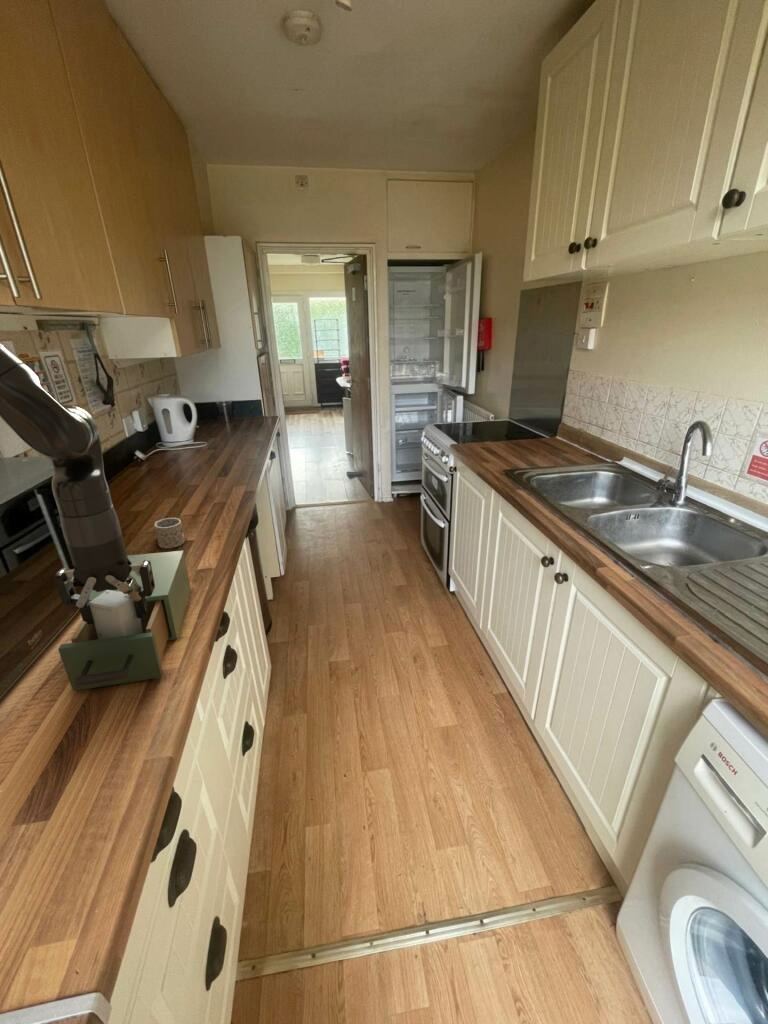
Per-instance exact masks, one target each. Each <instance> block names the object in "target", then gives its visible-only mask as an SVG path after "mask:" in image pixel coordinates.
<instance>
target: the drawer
mask: <svg viewBox="0 0 768 1024" xmlns="http://www.w3.org/2000/svg"><path fill="white" fill-rule="evenodd" d="M146 602H147V606H148V608H147V611H146V613H145V614H144V616H143V618H140V620H141V625H142V629H143V634H136V635H128V636H121V637H113V638H106V639H98V635H97V631H96V628H95V624H89V625H88V624H87V622H84V621H83V619H81V622H80V623H79V625H78V627H77V628H76V630H75V632H74V633H73V634H72V637H71V638H70V640H71V642H68V643H62V644H60V646H59V647H58V649H57V650H58V654H59V656H60V659H61V661H62V664H63V667H64V670H65V673H66V676H67V679H68V681H69V684H70V687H71V689H72V691H73V692H75V691H81V690H89V689H94V688H102V687H108V686H114V685H115V686H116V685H120V684H126V683H133V682H139V681H146V680H147V681H148V680H151V679H152V680H153V679H159V678H162V677H163V674H164V671H163V666H162V663H161V662H162V659H163V655H164V653H165V649H166V646H167V642H168V640H167V639H168V636H169V633H170V627H169V622H168V618H167V613H166V609H165V604H164V600H163V599H162V600H153V601H146Z"/></svg>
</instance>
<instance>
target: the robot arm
mask: <svg viewBox="0 0 768 1024" xmlns="http://www.w3.org/2000/svg"><path fill="white" fill-rule="evenodd" d="M0 418H1V419H2V421H3V422H4V423H5V424H6V425H7V426H8V427H9V428H10V430H12V431H13V432H14V433H15V434H16V436H18V437H19V438H20V439H21V440H22V441H23V442H24V443H25V444H26V445H27V446H29V447H30V448H31V449H32V450H33V451H35V452H37V453H38V454H39V455H41V456H43V457H46V459H47V458H48V459H49V460H51V464H52V469H53V476H52V479H51V490H52V494H53V497H54V501H55V504H56V507H57V510H58V514H59V519H60V526H61V531H62V536H63V539H64V541H65V545H66V547H67V550H68V553H69V557H70V560H71V563H72V566H73V567H74V568H72V569H68V568H66V567H61V568H60V569H59V570H58V571H57V572H56V573H55V575H54V576H53V579H52V580H53V582H54V584H55V587H56V591H57V592H58V595H59V598H60V600H61V603H62V605H63V606H65V607H70V606H76V607H77V608H78V609H79V612H80V616H81V620H83V621H84V622H87V624H88V625H89V624H94V620H93V616H92V612H91V608H90V605H89V602H91V601H92V600H89V597H90V595H91V593H92V591H93V590H95V591H96V592H101V591H104V590H117V589H119V590H120V591H121V592H122V593H124V594H128V595H129V596H130V597H131V598H133V599H134V606H135V610H136V614H137V618H143V616H144V614H145V613H146V611H147V608H148V606H147V602H146V598H145V597H146V596H147V597H150V596H151V595H152V593H153V591H154V588H155V583H154V577H153V572H152V567H151V562H150V561H149V560H144V561H143V563H133V564H132V562H130V561H129V559H128V557H127V556H128V553H127V549H126V544H125V541H124V536H123V532H122V527H121V524H120V520H119V516H118V514H117V512H116V509H115V507H114V504H113V499H112V496H111V491H110V488H109V484H108V481H107V478H106V475H105V468H104V457H103V447H102V442H101V435H100V432H99V429H98V425H97V423H96V421H95V419H94V418H93V417H92V415H91V414H90V413H89V412H88V411H86V410H85V409H83V408H81V407H79V406H77V405H73V404H60V403H59V402H58V401H57V400H56V399H55V398H54V397H52V395H50V393H48V392H47V391H46V390H45V389H44V388H43V387H42V385H41V380H40V378H39V376H38V375H37V374H36V373H35V372H34V371H33V370H32V369H31V368H30V367H29V366H28V365H27V364H26V363H25V362H23V361H22V360H21V359H20V358H18V356H17V355H16V354H14V353H13V352H12V351H11V350H9V349H8V348H7V347H6V346H5V345H4V344H2V343H1V342H0ZM131 571H135V572H136V574H137V575H138V576H141V581H142V586H143V587H141V586H140V585H139V584H138V583H137V582H136V579H135V578H133V577H132V576H131V575H130V573H131ZM74 578H75V579H76V580H77V581H79V582H80V583H81V584H82V585H84V586H83V588H82V589H81V592H80V594H78V593H77V591H76V588H75V586H74V582H73V580H74ZM124 582H126V584H125V583H124Z"/></svg>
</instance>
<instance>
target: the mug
mask: <svg viewBox="0 0 768 1024" xmlns="http://www.w3.org/2000/svg"><path fill="white" fill-rule="evenodd" d="M154 529H155V534H156V538H157V544H158V547H160V548H162V549H175V548H178V547H180V546H182V545H183V544H184V543H185V542H186V541H185V535H184V530H183V526H182V520H181V519H180V518H178V517H167V518H162V519H159V520H156V521H154Z"/></svg>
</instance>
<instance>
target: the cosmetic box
mask: <svg viewBox="0 0 768 1024" xmlns="http://www.w3.org/2000/svg"><path fill="white" fill-rule="evenodd" d="M89 605H90V608H91V612H92V616H93V620H94V624H95V628H96V631H97V635H98V639H106V638H113V637H121V636H128V635H136V634H143V629H142V625H141V620H140V618H137V614H136V610H135V606H134V599H133V598H131V597H130V596H129V595H128V594H124V593H122V592H116V591H112V590H107V591H105V592H104V593H102V594H101V595H99V596H98V597H96V598H95V599H93V600H92V601H91V602H89Z"/></svg>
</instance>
